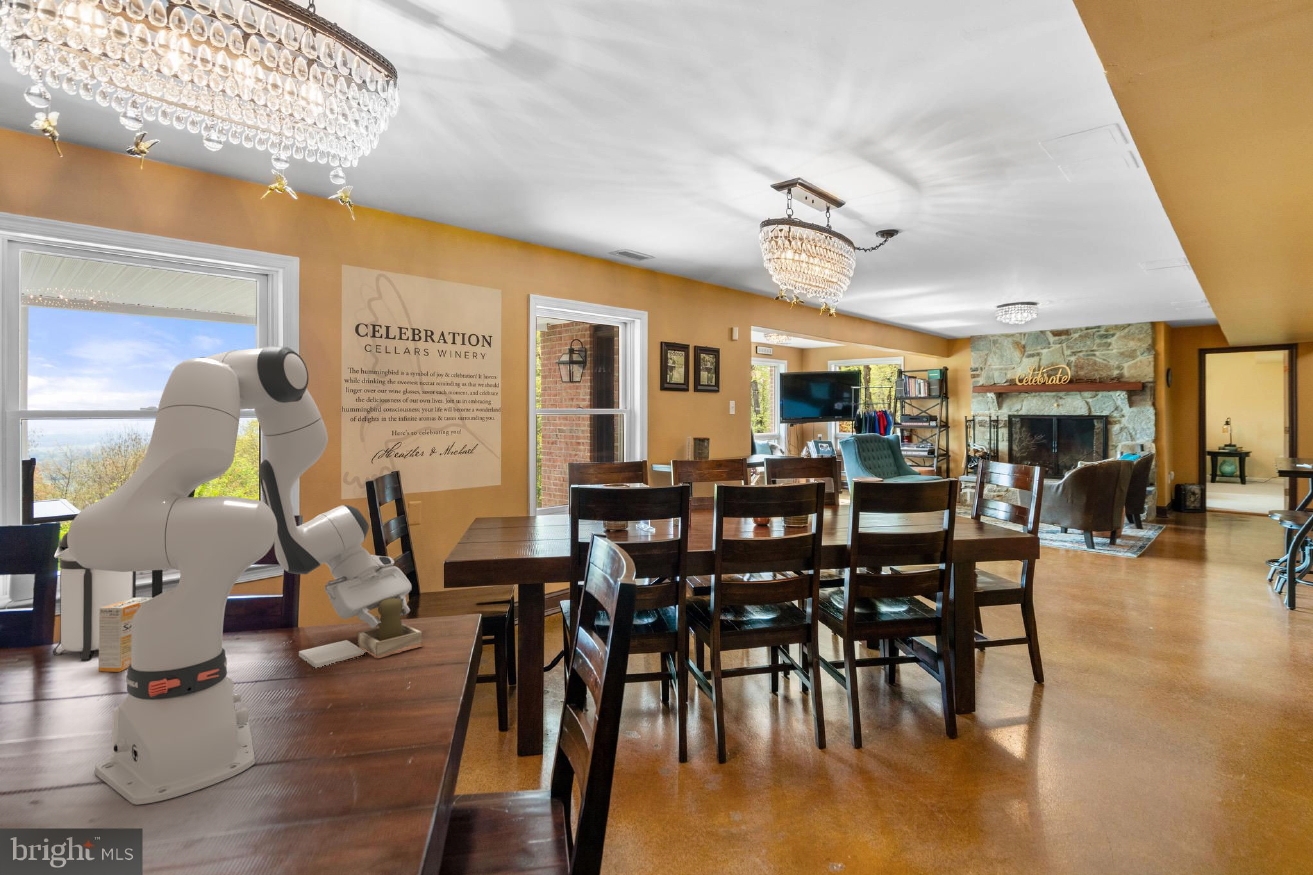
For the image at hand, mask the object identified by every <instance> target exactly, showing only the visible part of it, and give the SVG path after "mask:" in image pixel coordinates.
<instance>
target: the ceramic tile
mask: <svg viewBox="0 0 1313 875" xmlns="http://www.w3.org/2000/svg"><path fill="white" fill-rule="evenodd" d="M364 653H365V654H366V652H365V651H364V650H363V649H361V648H359V647H358V645H356V644H354V643H352V642H351V641H349V640H347V639H345V640H342V641H341V640H340V641H337V642H332V643H328V644H325V645H323V644H322V645H319V646H316V647H312V648H308V649H302V650H299V651H298V657H299V658H301V659H302V660H303V661H305V662H306V661H307V662H306V663H308V664H309V665H310V666H312V668H314V667H315V668H314V669H318V668H317V667H319V668H323V667H325V666H324V665H326V666H330V665H332V664H331V663H334V664H336V663H335V662H336V661H342V660H345V659H348V658H352V657H354V656H358V655H360V654H364ZM342 662H343V661H342ZM329 664H330V665H329ZM322 666H323V667H322Z"/></svg>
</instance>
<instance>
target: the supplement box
mask: <svg viewBox="0 0 1313 875" xmlns="http://www.w3.org/2000/svg"><path fill="white" fill-rule="evenodd" d="M150 599H152V597H145V596H144V597H139V596H138V597H136V598H132V599H129V600H125V601H122V602H118V603H115V604H112V605H108V606H105V607H100V614H99V649H98V671H99V672H111V673H112V672H115V673H120V672H123V671H125V670H128V666H129V665H130V664H131V622H132V619H133V616H134V614H135V613H136V611H137V610H138V609H139V607H141V606H142V605H143V604H144V603H145V602H147V601H148V600H150Z"/></svg>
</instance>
